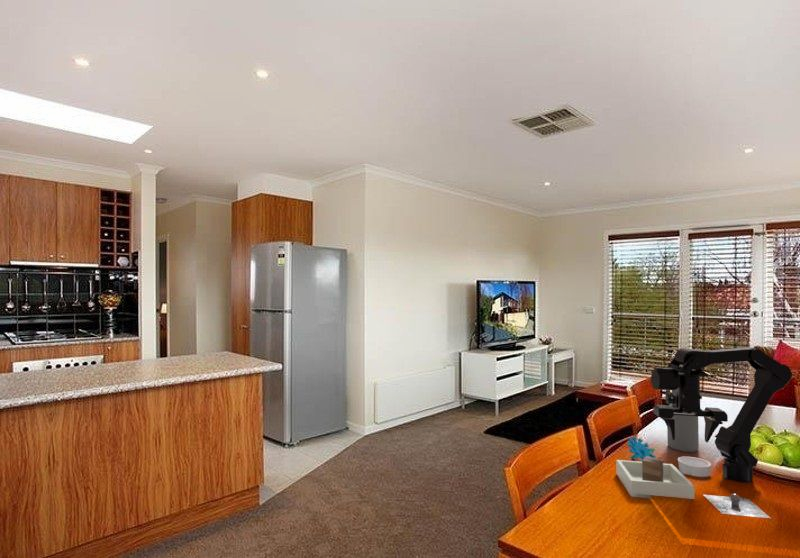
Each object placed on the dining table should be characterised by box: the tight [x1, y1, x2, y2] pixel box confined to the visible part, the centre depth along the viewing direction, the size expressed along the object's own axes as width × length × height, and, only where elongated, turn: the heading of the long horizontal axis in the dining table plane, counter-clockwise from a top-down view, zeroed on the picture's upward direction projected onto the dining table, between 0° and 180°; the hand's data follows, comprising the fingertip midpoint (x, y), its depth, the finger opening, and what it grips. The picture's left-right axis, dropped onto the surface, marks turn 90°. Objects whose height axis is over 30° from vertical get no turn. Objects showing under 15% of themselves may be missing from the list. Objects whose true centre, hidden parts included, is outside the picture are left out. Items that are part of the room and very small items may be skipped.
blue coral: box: [627, 436, 657, 462], centre depth 154 cm, size 11×6×10 cm
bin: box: [616, 459, 695, 500], centre depth 133 cm, size 16×16×4 cm
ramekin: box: [677, 455, 712, 478], centre depth 142 cm, size 9×9×4 cm
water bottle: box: [665, 388, 700, 453], centre depth 166 cm, size 10×10×28 cm
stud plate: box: [703, 493, 771, 519], centre depth 119 cm, size 11×11×4 cm
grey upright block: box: [641, 456, 664, 482], centre depth 133 cm, size 4×4×7 cm
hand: (689, 440), depth 138 cm, fingers open, 9 cm apart
